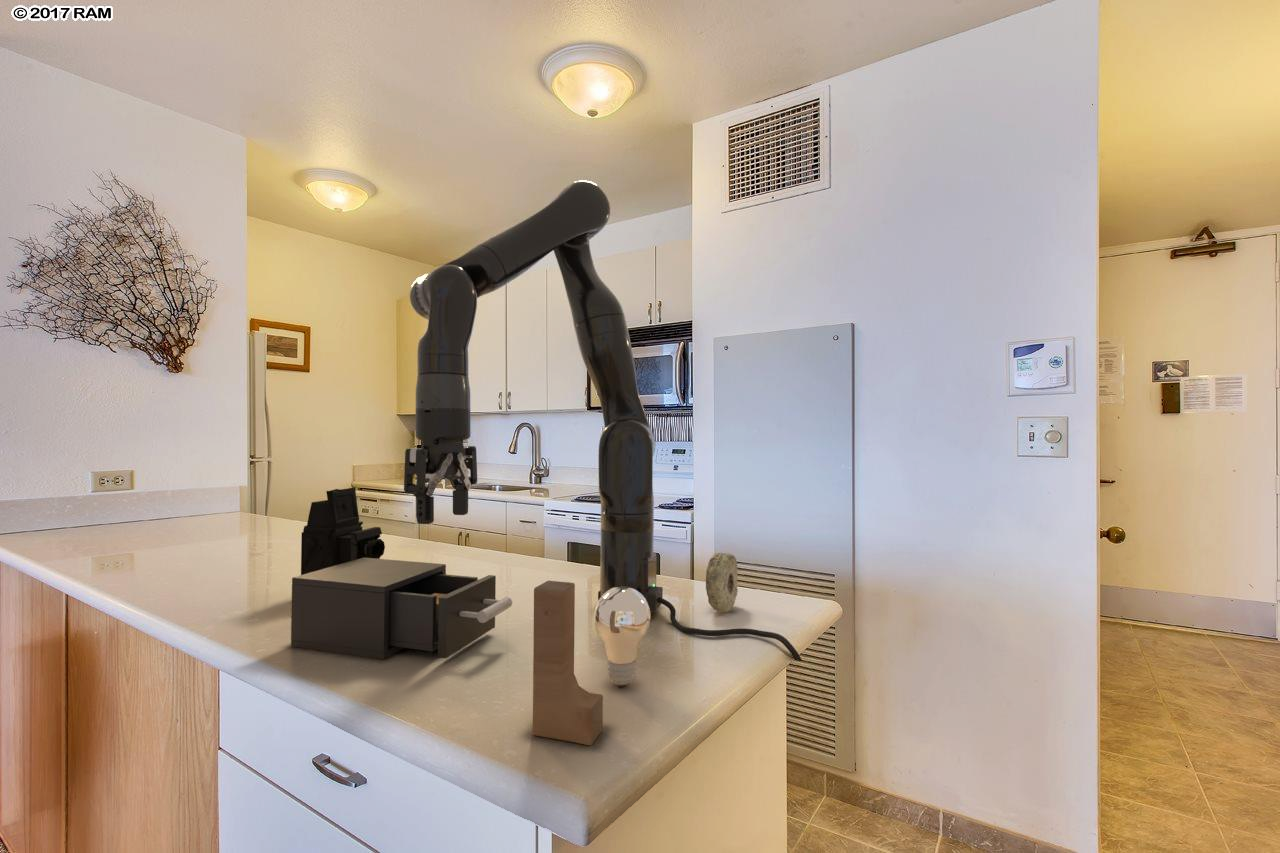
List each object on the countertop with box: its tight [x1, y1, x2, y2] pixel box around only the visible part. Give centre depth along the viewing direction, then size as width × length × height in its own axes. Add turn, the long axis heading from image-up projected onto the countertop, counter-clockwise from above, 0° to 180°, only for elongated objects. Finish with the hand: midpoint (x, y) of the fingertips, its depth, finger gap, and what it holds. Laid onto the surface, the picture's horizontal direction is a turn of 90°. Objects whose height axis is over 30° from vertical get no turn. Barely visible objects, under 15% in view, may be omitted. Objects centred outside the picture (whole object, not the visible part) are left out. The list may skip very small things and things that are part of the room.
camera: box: [300, 486, 386, 575], centre depth 105 cm, size 10×14×20 cm
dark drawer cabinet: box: [290, 558, 447, 660], centre depth 85 cm, size 16×14×10 cm
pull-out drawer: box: [388, 573, 513, 659], centre depth 82 cm, size 19×13×8 cm, turn 74°
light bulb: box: [593, 586, 652, 688], centre depth 69 cm, size 7×7×12 cm
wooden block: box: [531, 580, 604, 746], centre depth 58 cm, size 7×3×15 cm, turn 73°
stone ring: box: [705, 552, 739, 613], centre depth 99 cm, size 10×4×10 cm, turn 150°
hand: (443, 519), depth 81 cm, fingers open, 8 cm apart
